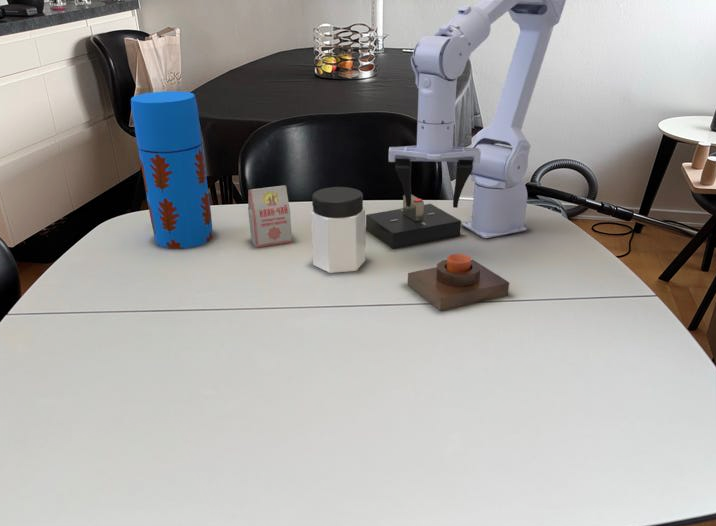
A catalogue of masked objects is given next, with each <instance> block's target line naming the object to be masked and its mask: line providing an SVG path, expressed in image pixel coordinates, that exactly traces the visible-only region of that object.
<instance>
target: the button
mask: <svg viewBox="0 0 716 526" xmlns="http://www.w3.org/2000/svg"><path fill="white" fill-rule="evenodd" d="M446 260H447V270H449V271H452V272H468V271H470V267H471V260H472V258H471V257H470V256H469V255H466V254H462V253H461V254H460V253H457V254H456V253H455V254H451V255H448V256H447V258H446Z"/></svg>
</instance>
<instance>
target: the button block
mask: <svg viewBox="0 0 716 526" xmlns="http://www.w3.org/2000/svg"><path fill="white" fill-rule="evenodd" d="M407 287H409V288H410V289H411V290H413V292H415V293H416V294H417V295H419V296H420V297H421V298H423V299H424V300H425V301H426V302H428V303H429V304H430V305H431V306H433V307H434V308H436V309H437V310H438V311H439V312H444V311H447V310H452V309H456V308H461V307H464V306H469V305H473V304H476V303H477V304H478V303H481V302H487V301H489V300H490V301H491V300H494V299H498V298H502V297H503V298H504V297H507V296H509V288H510V281H508V280H506V279H505V278H503V277H502V276H500V275H499V274H496V273H495V272H493V271H492V270H490V269H489V268H487V267H485V266H484V265H482V264H480V263H479V262H477V261H476V260H474V259H471V267H470V271H468V272H452V271H449V270H447V259H443V260H441V261H440V262H438V263H436V266H435V267H429V268H426V269H421V270H420V269H419V270H415V271H411V272H408V273H407Z"/></svg>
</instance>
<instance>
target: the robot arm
mask: <svg viewBox="0 0 716 526" xmlns="http://www.w3.org/2000/svg"><path fill="white" fill-rule="evenodd" d="M566 1H567V0H480V1H479V2H478V3H477V5H473V4H469V5H461V6H460V7H459V8H458V9H457V13H456V14H455V15H454V16H453V17H452V18H450V20H448V22H446V23H444V24H442V25H441V26H440V27H439V30H438V31H436V32H435V33H434V35H432V34H428V35H425V36H423V37H422V38H421V39H420V40H418V41H417V43H416V44H415V46H414V49H413V51H412V56H410V65H411V68H412V71H413V73H414V76H415V82H414V83H415V85H416V88H417V89H418V92H417V93H418V95H417V125H416V145H406V146H389V148H388V163H394V169H395V172H396V174H397V177H398V178H399V181H400V184H401V187H402V190H403V193H404V195H405V198H406V206H407V207H411V195H412V184H411V183H412V182H411V181H412V162H434V163H435V162H436V163H438V162H439V163H442V162H443V163H456V165H455V166H456V167H455V183H454V190H453V198H452V208H453V209H457V208H459V207H458V206H459V201H460V197H461V194H462V192H463V189H464V187H465V184H466V183H467V181H468V179H469V177H470V176H471V182H474V186H473V196H472V197H473V200H472V212H471V221H466V222H461V227H463V228H465V229H467V230H469V231H471V232H472V233H473V234H476V235H477V236H479V237H481V238H483V239H490V238H494V237H495V238H496V237H501V236H505V235H509V234H510V235H511V234H515V233H521V232H525V231H527V227H526V226H525V222H526V215H527V205H528V190H527V186H526V184H525V183H524V182H523V181H522V180H523V179H524V177H525V176H526V174H527V169H528V165H529V155H530V150H531V147H532V146H531V144H530V142H529V140H528V139H527V137H526V136H525V134H524V133H523V131H522V128H523V125H524V121H525V120H526V116H527V112H528V109H529V107H530V103H531V101H532V96H533V93H534V91H535V87H536V84H537V81H538V78H539V74H540V72H541V69H542V65H543V62H544V60H545V56H546V53H547V51H548V48H549V47H548V46H549V43H550V40H551V38H552V34H553V32H554V31H553V30H554V27H555V26H557V25H558V24H559V22H560V20H561V18H562V14H563V11H564V8H565V4H566ZM507 12H508V15H509V16H510V19H511V20H512V22H514V23H516V25H518V27H519V34H518V38H517V41H516V43H515V47H514V51H513V54H512V56H511V61H510V63H509V66H508V69H507V74H506V76H505V80H504V82H503V83H504V84H503V86H502V90H501V93H500V96H499V99H498V102H497V106H496V109H495V113H494V115H493V119H492V122H490V123H489V125H487V126H485V127H483V128H482V129H481V130H479V131H478V132H477V133H476V136H475V139H474V141H473V143H472V145H471V146H470V147H468V146H467V147H465V146H457V145H456V146H455V145H454V133H455V131H454V130H455V114H456V113H455V112H456V100H457V99H456V97H457V81H458V77H461V76H462V74H463V73H464V71H465V68H466V65H467V62H468V61H469V59H470V56H471V54H472V53H474V51H476V50H477V48H479V47H480V46H481V45H482V44H483V43H484V42H485V41H486V40H487V39H488V37H489V36H490V34H491V28H492V27H491V25H492V24H493V23H495V22H496V21H497V20H498V19H500V18H501V17H502V16H503V15H506V13H507ZM504 145H505V146H504Z"/></svg>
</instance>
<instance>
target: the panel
mask: <svg viewBox="0 0 716 526" xmlns="http://www.w3.org/2000/svg"><path fill="white" fill-rule="evenodd" d="M461 230H462V221H461V220H460V219H459V218H457V217H455V216H453V215H452V214H449V213H448V212H446V211H444V210H443V209H441V208H439V207H437V206H435V205H434V204H432V203H427V204H424V212H423V221H419V222H415V221H413V220H412V219H410V218H408V217H407V216H405V215H404V214H403V208H397V209H392V210H386V211H381V212H380V211H379V212H374V213H367V214H365V231H367V232H368V233H370V234H371V235H372V236H374V237H375V238H377V239H378V240H379V241H380V242H382V243H384V244H385V245H386V246H388V247H389V248H391V249H392V250H397V249H400V248H401V249H402V248H407V247H412V246H416V245H417V246H418V245H422V244H426V243H432V242H437V241H438V242H439V241H442V240H447V239H452V238H453V239H454V238H459V237H461Z"/></svg>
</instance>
